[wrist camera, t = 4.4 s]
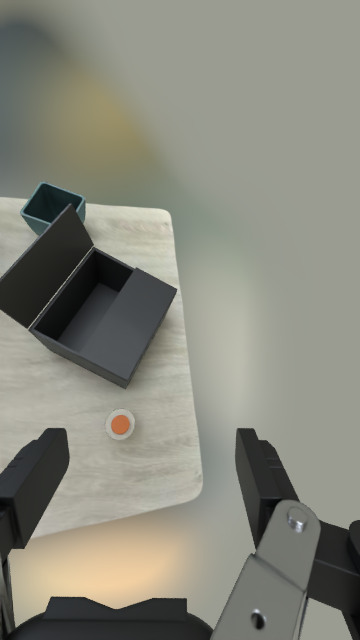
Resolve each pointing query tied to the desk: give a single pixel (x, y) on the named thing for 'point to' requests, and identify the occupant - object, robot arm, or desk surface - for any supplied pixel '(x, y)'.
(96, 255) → the carton
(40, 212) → the flower pot
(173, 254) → the desk surface
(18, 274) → the flap
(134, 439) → the desk surface
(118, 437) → the orange-capped white cylinder
